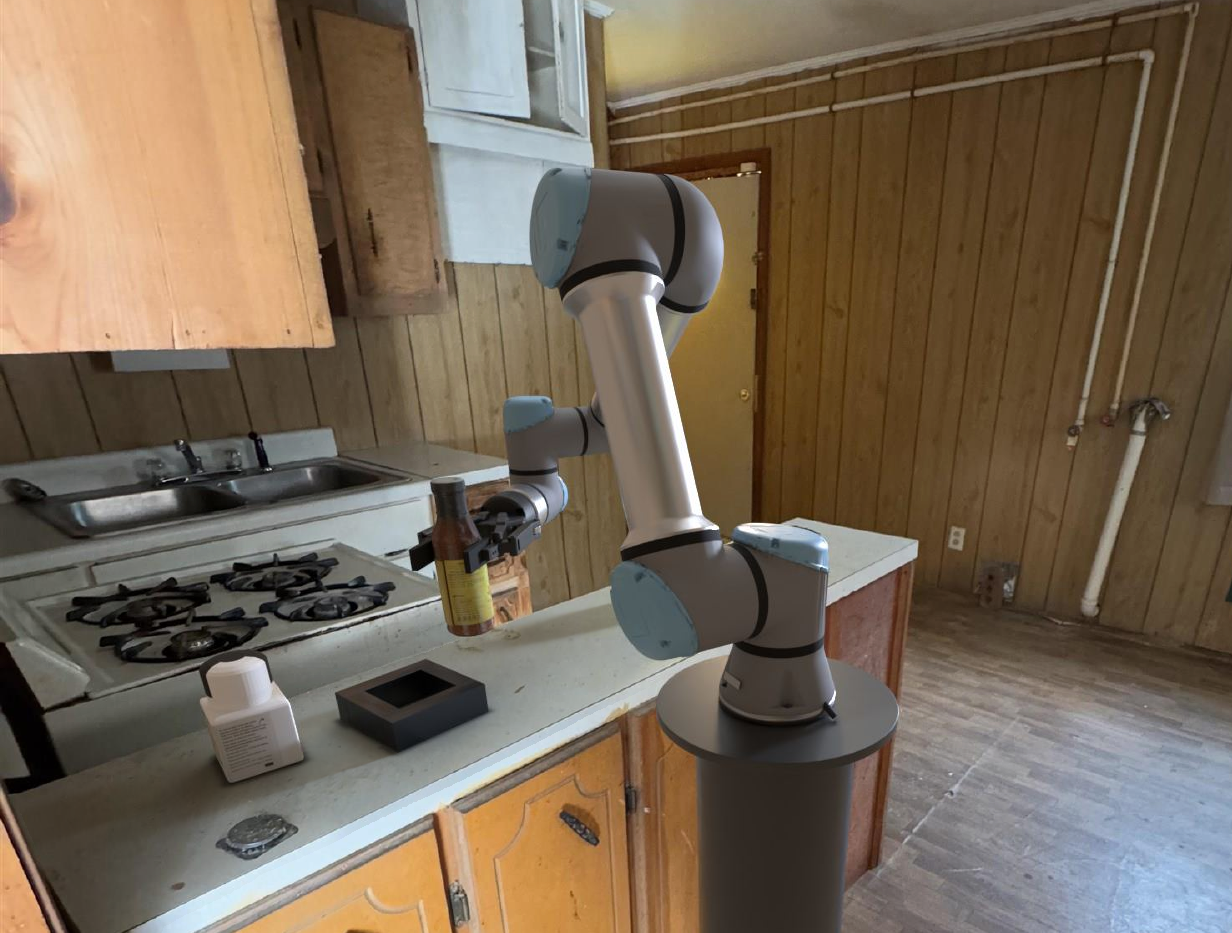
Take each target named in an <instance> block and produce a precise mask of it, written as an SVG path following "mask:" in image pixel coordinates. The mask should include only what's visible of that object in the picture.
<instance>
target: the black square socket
mask: <svg viewBox="0 0 1232 933" xmlns="http://www.w3.org/2000/svg"><path fill="white" fill-rule="evenodd" d="M334 696H335V700H336V705H337V710H338V713H339V718H340V721H341V722H343V723H344V724H347V725H348V726H350V727H351V728H353V729H356V730H357V731H359V732H361V733H362V734H365V735H366V736H368V737H370V738H371V739H373V740H375V741H377V742H378V743H380V744H382V745H384V746H386V747H387V748H389V749H390V750H393V751H394V752H395V753H401V752H402V751H405V750H407V749H409V748H412V747H413V746H416V745H418V744H421V743H422V742H424V741H426V740H429V739H431V738H433V737H436V736H438V735H440V734H442V733H444V732H447V731H449V730H451V729H454V728H455V727H457V726H460V725H462V724H464V723H467V722H469V721H471V720H473V719H475V718H477V717H479V716H481V715H483V714H486V713H488V712H489V704H488V698H487V689H486V684H485V683H484V682H482V681H479V680H477V679H475V678H472V677H469V676H467V675H465V674H463V673H461V672H458V671H457V670H456V671H455V670H454V669H451V668H449V667H446V666H444V665H442V664H439V663H438V662H434V661H432V660H430V659H427V658H424V659H421V660H419V661H416V662H413V663H410V664H408V665H405V666H403V667H399V668H398V669H394V670H391V671H389V672H387V673H383V674H381V675H378V676H375V677H373V678H371V679H368V680H365V681H362V682H359V683H356V684H353V685H351V686H348V687H346V688H343V689H340V690H337V691H335V692H334ZM423 697H426V698H423ZM421 698H423V699H421ZM418 699H421V700H418ZM415 700H416V702H413V701H415ZM417 700H418V701H417ZM412 702H413V703H412ZM409 703H411V704H409ZM406 704H409V705H406ZM404 705H406V706H404ZM401 706H403V707H402V708H399V707H401Z"/></svg>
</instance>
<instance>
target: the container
mask: <svg viewBox="0 0 1232 933" xmlns="http://www.w3.org/2000/svg"><path fill="white" fill-rule="evenodd" d="M271 670H272V669H271V666H270V663H269V659H268V657H267V655H266V654H264V653H263V652H261V651H259V650H254V649H253V650H252V649H235V650H229V651H224V652H221V653H219V654H216V655H214V656H212V657H210V658H208V659H207V660H205V661H204V662H203V663H202V664H201V665H200V667H199V668H198V673H199V677H200V679H201V682H202V686H203V689H204V693H205V696H206V697H202V698H200V699H199V705H200V708H201V711H202V715H203V718H204V721H205V724H206V727H207V731H208V734H209V737H210V741H211V744H212V747H213V750H214V753H215V756H216V758H217V761H218V762H219V765H220V767H221V769H222V771H223V774H224V776H225V777H226V779H227V781H228V783H230V784H234V783H236V782H240V781H243V780H246V779H249V778H252V777H255V776H259V775H262V774H264V773H268V772H271V771H275V770H277V769H278V770H279V769H281V768H284V767H287V766H291V765H293V764H295V763H299V762H302V761H303V760H304V757H305V756H304V753H303V749H302V745H301V741H300V736H299V734H298V733H299V732H298V730H297V729H298V728H297V725H296V721H295V717H294V714H293V710H292V707H291V703H290V701H289V700H288V699H287V697H286V696H285V695H284V693H283V692H282V689H280V688H279V686H278V685H277V683H276V682H275V681H274V679H273V675H272V671H271Z"/></svg>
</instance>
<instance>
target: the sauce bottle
mask: <svg viewBox="0 0 1232 933" xmlns="http://www.w3.org/2000/svg"><path fill="white" fill-rule="evenodd" d="M429 485H430V491H431V494H433V498H434V505H435V515H436V520H435V524H434V525H435V527H434V529H433V531H432V534H431V537H432V538H431V539H432V545H433V550H434V555H435V556H434V566H435V571H436V576H437V582H438V588H439V594H440V599H441V605H442V611H443V616H444V621H445V623H446V629H447V631H448V633H450V634H451V635H453V636H455V637H461V638H470V637H478V636H481V635H484V634H487V633H488V632H490V631H492V630H494V628H495V610H494V603H493V597H492V589H491V583H490V577H489V573H488V572H489V571H488V564H487V563H488V562H487V563H486V564H484V565H483V566H481V567H480V568H479V569H477V570H476V571H475V572H473V573H472V574H465V567H464V559H463V551H465V550H466V549H468V548H469V547H471V546H472V545H474V544H476V543H477V542H479V541H480V540H482V538H481V536H480V534H479V532H478V530H477V528H476V526H475V524H474V522H473V520H472V518H471V517H472V516H471V514H470V512H469V508H468V503H467V497H466V490H467V486H466V482H465V479H464V478H462V477H461V476H443V477H437V478H433V479H431V480H430V481H429Z"/></svg>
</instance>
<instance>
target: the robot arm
mask: <svg viewBox="0 0 1232 933" xmlns="http://www.w3.org/2000/svg"><path fill="white" fill-rule="evenodd" d="M723 237H724V236H723V230H722V227H721V223H720V220H719V218H718V215H717V212H716V210H715V208H714V207H713V205H712V204H711V202H710V201H709V200H708V198H707V196H706V195H705V194H704V193H703V192H702V191H701V190H700V189H699V188H697V187H696V186H695V185H694V184H693V183H691V182H690V181H688V180H686V179H684V178H683V177H680V176H676V175H672V174H668V173H657V174H655V173H649V172H648V173H647V172H638V171H637V172H636V171H625V170H616V169H615V170H614V169H604V168H603V169H601V168H591V167H590V166H589V165H587V164H582V165H580V166H567V165H566V166H565V165H564V166H563V165H557V166H554V167H551V168H550V169H548V170H547V171H546V172H545V173H544V174H543V175H542V176H541V178H540V180H539V182H538V184H537V186H536V189H535V192H534V196H533V199H532V205H531V211H530V219H529V237H528V238H529V240H528V241H529V255H530V262H531V267H532V271H533V274H534V276H535V278H536V280H538V283H539V284H541V286H543V287H545V288H548V289H549V290H554V289H556V288H557V290H558V293H559V297H560V302H561V305H562V309H563V312H564V313H565V314H566V315H567V316H568V317H569V318H572V319H573V320H575V321H576V322H578V323H579V324H580V327H581V331H582V336H583V339H584V344H585V349H586V352H587V356H588V357H587V358H588V361H589V366H590V370H591V374H592V380H593V383H594V387H595V392H594V394H593V396H592V399H591V400H590V403H589V404H588V405H586V406H575V407H574V406H571V407H569V406H568V407H554V404H553V401H552V399H551V398H550V397H547V396H543V395H519V396H511V397H509V398H507V399H505V400H504V402H503V405H502V423H503V429H502V431H503V434H504V441H505V448H506V450H505V451H506V455H507V465H508V478H509V485H510V486H508V487H507V488H505V489H503V490H500V491H499V492H497V493H495V494H494V495H492V496H490V497H489V498H487V499H486V500H484V502H483V503H482V505H481V506H480V508H479V510H478V512H477V514H476V515H473V516H471V518H472V520H473V522H474V524H475V526H476V528H477V530H478V532H479V534H480V536H481V538H482V540H480V541H479V542H477V543H476V544H474V545H472V546H471V547H469V548H468V549H466V550H465V551H463V559H464V567H465V574H472V573H473V572H475V571H476V570H477V569H479V568H480V567H481V566H483V565H484V564H486V563H488V562H490V561H493V560H494V559H496V558H502V557H504V556H505V554H509V556H510V557H517V556H520V555H521V554H522V552H524V550H526V549H527V548H528V547H530V545H531V544H532V543H534V541H536V540H539V539H541V538H543V533H542V532H543V531H542V527H543V526H545V525H547V523H549V522H552V521H554V520H555V519H556V518H557V517H558V516H559V515H560V514H561V513H562V512H563V510H564V509H565V507H566V506H567V503H568V499H569V492H568V488H567V485H566V483H565V482H564V480H563V478H561V477H560V476H559V465H558V459H566V458H574V457H584V456H593V455H594V456H595V455H606V454H607V455H608V454H610V455H611V460H612V464H613V469H614V473H615V478H616V482H617V486H618V491H619V494H620V498H621V499H620V500H621V503H622V507H623V511H624V517H625V520H626V525H627V528H628V533H627V536H626V538H625V539H624V541H623V543H622V544H621V546H620V547H619V554H620V558H621V562H619V564H618V565H616V566H615V567H614V568H613V569H612V571H611V574H610V577H609V585H610V587H611V588H610V589H609V596H610V601H611V606H612V609H613V612H614V615H615V618H616V620H617V623H618V625H619V627H620V629H621V631H622V632H623V634H624V636H625V638H626V639H627V640H628V642H629V643H630V644H631V645H632V646H633V647H634V649H635V650H636V651H637V652H638V653H640V654H641V655H642V656H644V657H646V658H647V659H650V660H653V661H658V662H661V661H662V662H663V661H668V660H672V659H673V660H674V659H677V658H690V657H692V656H694V655H695V654H699V653H703V652H706V651H710V650H714V649H718V648H720V647H725V646H729V645H732V647H731V650H730V652H729V654H730V655H729V654H728V655H729V658H728V660H727V663H726V666H725V669H724V672H723V674H722V677H721V680H720V685H719V703H720V706H721V707H722V708H723V710H724V711H725V712H726V713H728V714H729V715H731V716H732V717H734V718H736V719H738V720H741V721H744V722H747V723H750V724H754V725H759V726H766V727H794V726H801V725H805V724H809V723H812V722H815V721H818V720H820V719H822V718H824V717H825V716H827V715H829V716H830V717H831V719H834V718H835V717H836V716H837V714H836V713H835V712H834V710H833V707H834V703H835V687H834V683H833V680H832V677H831V673H830V669H829V665H828V662H827V658H828V657H827V655H826V652H825V648H824V647H825V646H824V645H825V630H826V629H825V628H826V611H827V598H828V587H829V586H828V584H829V573H830V572H831V571H830V568H829V545H828V543H827V541H826V539H825V538H823V537H822V536H821V535H820V534H818V533H815V531H811V530H808V529H805V528H801V527H797V526H791V525H785V524H780V523H779V524H778V523H768V522H750V523H749V522H748V523H741V524H738V525H737V526H735V527H734V529H733V532H732V534H731V540H732V542H731V543H727V544H723V540H722V536H721V531H720V528H719V526H718V525H717V524H715V523H714V522H712V521H711V520H709V519H707V518H706V517H705V516H704V515H703V512H702V507H701V503H700V498H699V494H698V490H697V484H696V481H695V476H694V471H693V467H692V463H691V458H690V454H689V449H688V445H687V440H686V437H685V436H686V435H685V433H684V427H683V422H682V418H681V415H680V414H681V413H680V410H679V406H678V405H679V404H678V401H677V397H676V392H675V387H674V384H673V379H672V375H671V374H672V373H671V370H670V366H669V360H670V358H671V356H672V354H673V353H674V351H675V349H676V347H677V345H678V344H679V342H680V339H681V338H682V336H683V334H684V332H685V330H686V329H687V327H688V325H689V323H690V321H691V319H692V318H693V316H695V315H698V314H699V313H701V312H703V311H704V310H705V309H706V308H707V306H708V304H709V303H710V301H711V299H712V298H713V295H714V293H715V291H716V289H717V287H718V285H719V282H720V279H721V275H722V270H723V266H724V254H725V244H724V238H723ZM434 527H435V524H434V525H432V526H430V527H427V528H425V529H423V530H421V531H418V532H417V533H416V536H417V542H418V544H416V545H414V546H412V547H411V548H409V549H408V555H409V561H410V567H411V572H420V571H421V570H422V569H425V568H426V567H427V566H430V564H432V563H433V562H434V563H435V561H434V556H435V555H434V550H433V545H432V539H431V538H432V537H431V534H432V531H433V529H434ZM826 657H827V658H826Z"/></svg>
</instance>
